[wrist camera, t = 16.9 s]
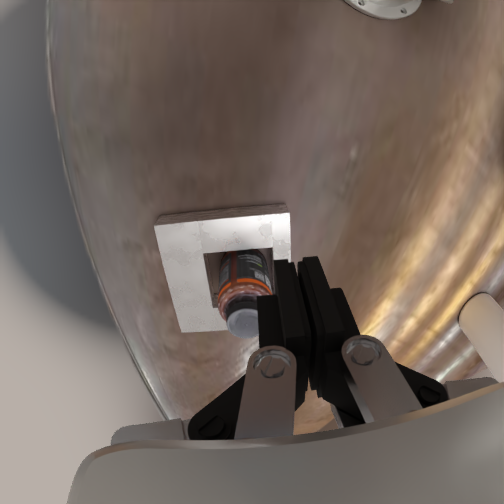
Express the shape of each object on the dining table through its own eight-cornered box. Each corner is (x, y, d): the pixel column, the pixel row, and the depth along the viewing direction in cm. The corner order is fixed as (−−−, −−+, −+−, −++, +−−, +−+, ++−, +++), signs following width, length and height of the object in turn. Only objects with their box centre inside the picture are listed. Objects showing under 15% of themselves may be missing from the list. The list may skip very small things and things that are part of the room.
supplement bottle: (220, 284, 41) (216, 345, 31) (220, 243, 38) (213, 300, 28) (265, 284, 41) (273, 345, 31) (268, 244, 38) (278, 301, 28)
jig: (285, 203, 36) (289, 212, 33) (287, 310, 43) (290, 324, 41) (159, 215, 36) (154, 225, 33) (184, 318, 43) (181, 332, 41)
